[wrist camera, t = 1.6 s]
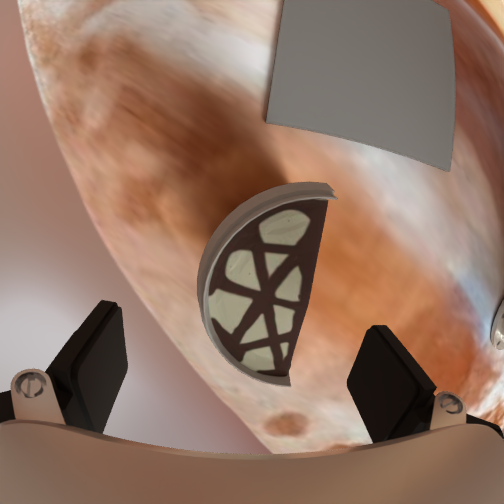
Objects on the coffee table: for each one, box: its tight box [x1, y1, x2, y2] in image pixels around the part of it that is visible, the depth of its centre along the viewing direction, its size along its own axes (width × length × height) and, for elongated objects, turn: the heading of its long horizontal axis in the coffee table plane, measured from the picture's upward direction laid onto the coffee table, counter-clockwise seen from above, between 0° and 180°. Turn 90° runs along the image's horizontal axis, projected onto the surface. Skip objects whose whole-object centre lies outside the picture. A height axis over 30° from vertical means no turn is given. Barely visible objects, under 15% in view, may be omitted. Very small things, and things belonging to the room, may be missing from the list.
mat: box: [266, 0, 455, 172], centre depth 18 cm, size 18×20×1 cm
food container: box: [197, 182, 338, 387], centre depth 19 cm, size 12×6×10 cm, turn 172°
